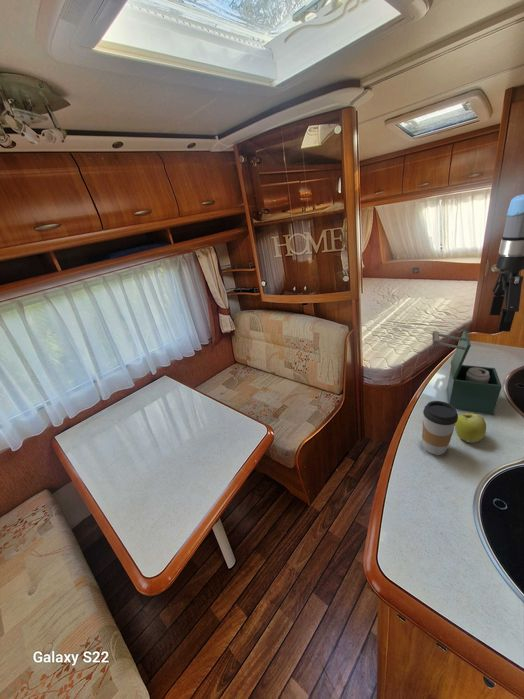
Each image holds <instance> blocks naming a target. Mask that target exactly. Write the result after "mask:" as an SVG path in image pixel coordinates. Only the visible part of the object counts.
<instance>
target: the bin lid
mask: <svg viewBox="0 0 524 699" xmlns="http://www.w3.org/2000/svg"><path fill="white" fill-rule="evenodd" d="M431 335H432V345H433V346H434V347H438V346H444V347H448V348H454V349H455V351H454V353H453V355H452V358H451V360H450V370H451V369H452V377H453V379H456V377H457V375H458V373H459V371H460V368H461V366H462V365H464V362H465V360H466V357H467V355H468V353H469V351H470V348H471V347H472V345H471V340H470V337H469V333H468V330H467V329H465V330H463V332H462V334H461V336H460V337H459V336H455V335H454V336H453V335H449V334H443V333H439V331H436V330H435V331H432V334H431ZM440 337H442V338H447V339H452V340H458V344H457V345H456V344H452V343H451V344H450V343H446V342H441V341H440Z"/></svg>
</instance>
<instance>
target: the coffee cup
mask: <svg viewBox="0 0 524 699" xmlns="http://www.w3.org/2000/svg"><path fill="white" fill-rule="evenodd" d="M457 411H458V410H457V409H455V408H454V407H453V406H452V405H450V404H448V402H446V401H442V400H432V401H429V402H427V403H426V405H424V407H423V411H422V412H423V420H422V433H421V438H422V439H421V444H422V447H423V449H424V450H425V451H426V452H427V453H429V454H432V455H437V456H440V455H443V454H445V453H446V452H447V449H448V446H449V445H450V442H451V439H452V437H453V433H454V430H455V423H456V422H457V420H458V416H459V414H458V412H457Z"/></svg>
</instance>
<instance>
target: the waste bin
mask: <svg viewBox="0 0 524 699" xmlns="http://www.w3.org/2000/svg"><path fill="white" fill-rule="evenodd" d="M473 367H478V368H483V369H485V370H487V371H488V372H489V375H490V378H489V382H488V383H480V382H472V381H465V378H466V373H467V371H469V369H470V368H473ZM502 387H503V386H502V383H501V380H500V377H499V375H498V372H497V370H496V368H495V367H486V366H478V365H467V364H462V366H461V368H460V371H459V373H458V375H457V377H456V379H453V377H452V369H451V368H450V369H449V375H448V380H447V385H446V398H447V403H448V404H450V405H452V406H453V407H454V408H455V409H456V410H459V411H464V412H465V411H466V412H470V413H476V414H482V415H490V416H494V413H495V410H496V407H497V404H498V401H499V398H500V395H501V391H502Z"/></svg>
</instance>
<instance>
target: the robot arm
mask: <svg viewBox="0 0 524 699" xmlns="http://www.w3.org/2000/svg"><path fill="white" fill-rule="evenodd" d="M495 267H496V269H497V270H499V273H498V275H497V278H496V281H495V283H494V286H493V289H492V294H493V295H492V300H491V305H490V310H489V316H500V319H499V324H498V327H497V332H506V333H507V332H511V329H512V325H513V322H514V318H515V314H516V313H518V312H519V311H520V303H521V296H522V294H521V293H522V287H523V285H522V284H523V281H524V276H523V275H521V274H520V273H521V271H523V270H524V194H523V193H522V194H519V195H516V196H514V197H512V198H511V200H510V203H509V207H508V208H507V213H506V219H505V224H504V229H503V234H502V238H501V241H500V245H499V250H498V256H497V260H496V265H495ZM503 304H504V306H503ZM503 307H504V308H503Z"/></svg>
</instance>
